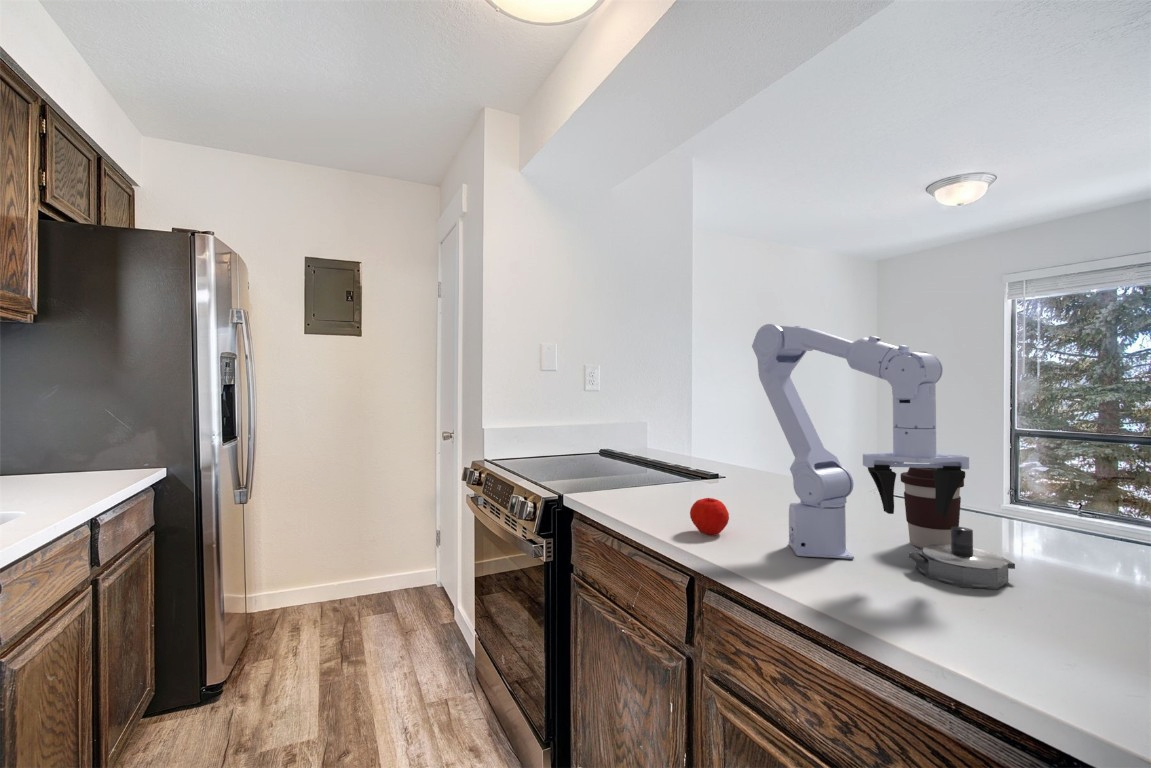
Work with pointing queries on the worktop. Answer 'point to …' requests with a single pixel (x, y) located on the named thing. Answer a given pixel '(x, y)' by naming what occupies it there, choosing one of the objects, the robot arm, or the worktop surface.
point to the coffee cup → (927, 509)
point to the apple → (709, 516)
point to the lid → (963, 552)
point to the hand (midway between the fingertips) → (915, 513)
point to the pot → (962, 573)
